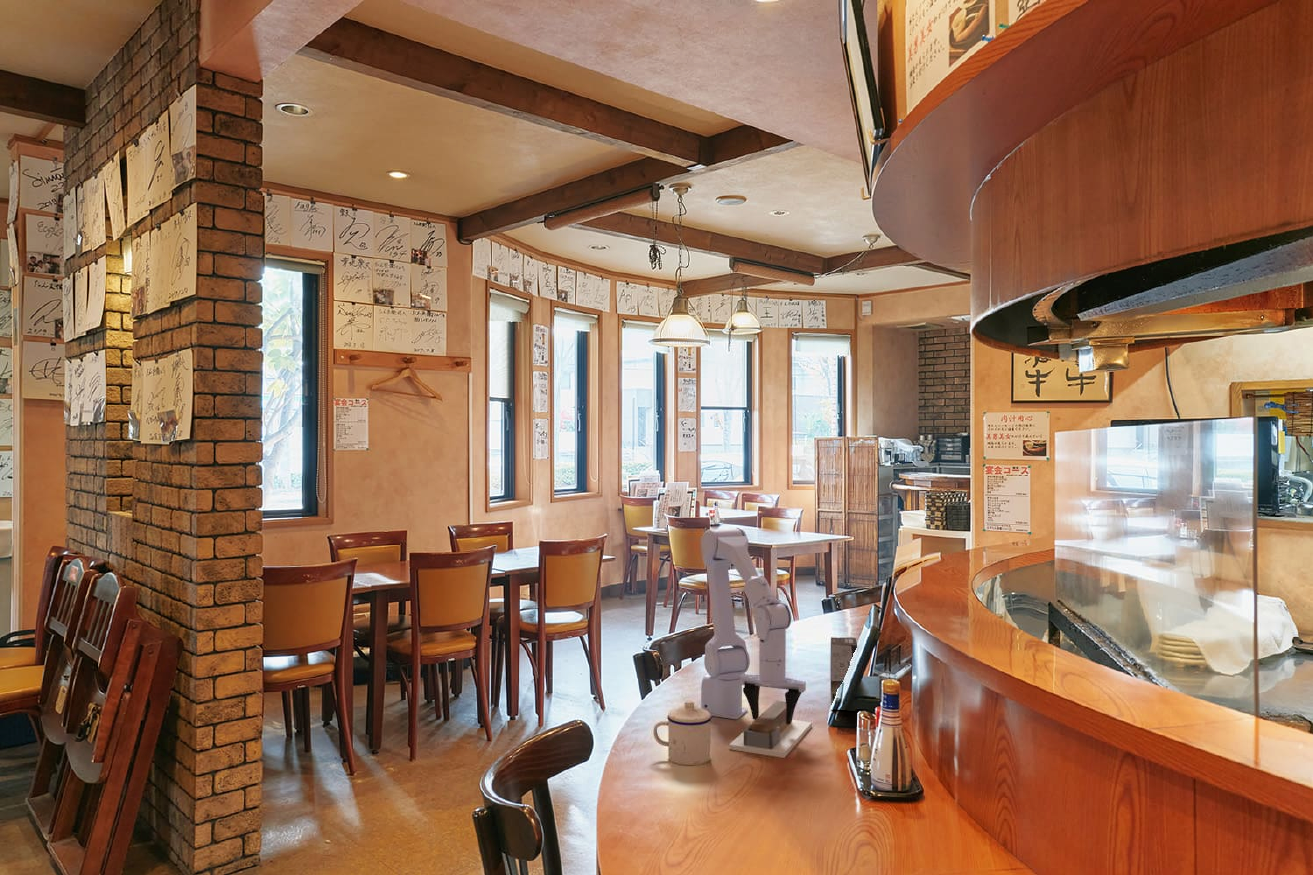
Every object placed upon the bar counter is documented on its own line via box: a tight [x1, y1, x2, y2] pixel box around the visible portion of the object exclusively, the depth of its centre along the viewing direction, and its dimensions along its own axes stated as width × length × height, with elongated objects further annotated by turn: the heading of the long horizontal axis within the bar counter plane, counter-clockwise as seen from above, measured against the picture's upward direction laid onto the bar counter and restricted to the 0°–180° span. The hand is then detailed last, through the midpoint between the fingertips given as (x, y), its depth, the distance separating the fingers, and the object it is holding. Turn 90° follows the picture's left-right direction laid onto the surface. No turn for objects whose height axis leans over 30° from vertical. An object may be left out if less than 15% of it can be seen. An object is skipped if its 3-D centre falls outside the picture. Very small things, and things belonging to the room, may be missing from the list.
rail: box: [751, 700, 789, 734], centre depth 194 cm, size 4×18×4 cm, turn 155°
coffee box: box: [829, 636, 858, 706], centre depth 218 cm, size 9×6×16 cm
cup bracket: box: [728, 719, 813, 759], centre depth 194 cm, size 12×22×4 cm, turn 155°
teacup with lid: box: [652, 700, 713, 766], centre depth 181 cm, size 12×9×12 cm
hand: (772, 720), depth 194 cm, fingers open, 7 cm apart
